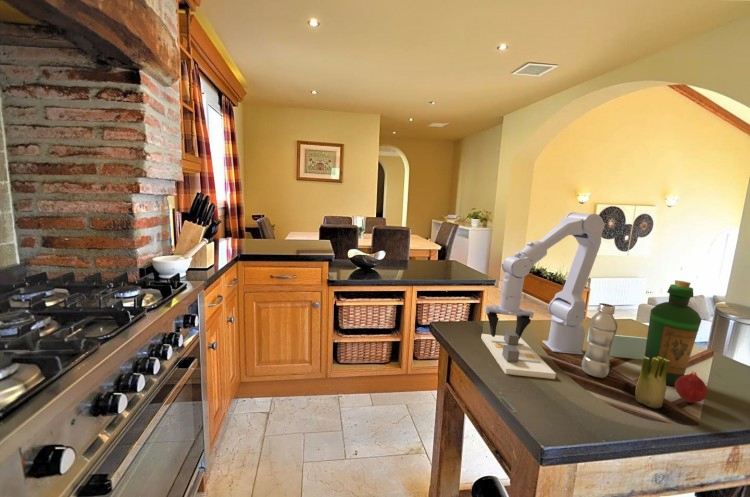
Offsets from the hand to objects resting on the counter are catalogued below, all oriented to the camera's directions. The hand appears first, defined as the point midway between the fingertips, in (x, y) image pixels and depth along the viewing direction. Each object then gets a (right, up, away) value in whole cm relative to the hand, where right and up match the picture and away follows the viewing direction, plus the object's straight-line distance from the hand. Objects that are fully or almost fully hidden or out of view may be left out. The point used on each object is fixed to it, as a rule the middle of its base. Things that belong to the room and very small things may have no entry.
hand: (504, 336), depth 107 cm
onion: (+36, -10, -23) cm, 44 cm away
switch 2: (-3, -3, -12) cm, 12 cm away
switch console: (+1, -4, -6) cm, 7 cm away
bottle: (+40, -9, -11) cm, 42 cm away
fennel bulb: (+24, -10, -26) cm, 37 cm away
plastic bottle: (+20, -7, -13) cm, 25 cm away
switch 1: (+2, -2, 0) cm, 3 cm away
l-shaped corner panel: (+40, -7, +7) cm, 41 cm away
